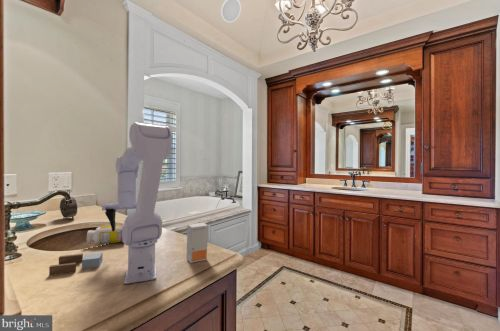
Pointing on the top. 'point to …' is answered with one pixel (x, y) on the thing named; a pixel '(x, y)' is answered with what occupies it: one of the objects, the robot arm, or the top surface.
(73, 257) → the channel
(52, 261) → the top surface
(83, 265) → the block
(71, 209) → the alarm clock
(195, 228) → the skincare box
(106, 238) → the supplement bottle
